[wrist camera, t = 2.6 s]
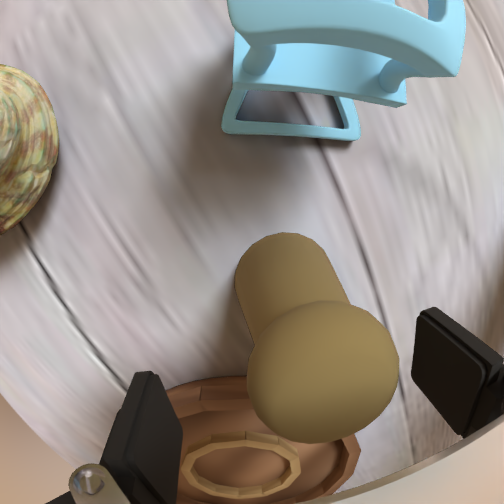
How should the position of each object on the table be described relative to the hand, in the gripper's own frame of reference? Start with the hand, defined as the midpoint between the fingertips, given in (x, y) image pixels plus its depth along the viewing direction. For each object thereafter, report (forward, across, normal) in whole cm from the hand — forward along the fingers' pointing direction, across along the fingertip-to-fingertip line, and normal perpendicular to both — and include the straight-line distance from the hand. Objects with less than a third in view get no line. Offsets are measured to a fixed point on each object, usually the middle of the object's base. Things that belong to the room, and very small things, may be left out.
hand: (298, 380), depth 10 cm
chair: (+9, -4, -12) cm, 16 cm away
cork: (+9, -1, 0) cm, 9 cm away
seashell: (+10, +15, -12) cm, 22 cm away
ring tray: (+9, +5, +16) cm, 19 cm away
